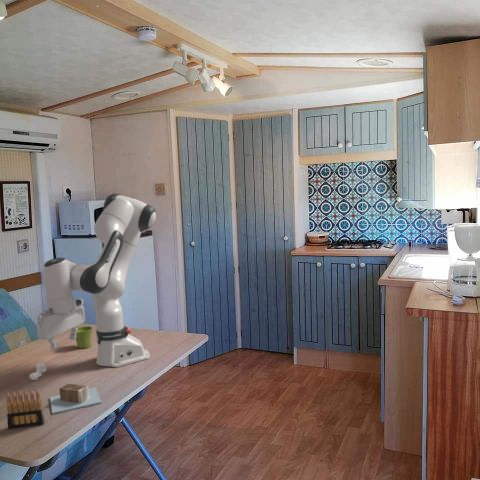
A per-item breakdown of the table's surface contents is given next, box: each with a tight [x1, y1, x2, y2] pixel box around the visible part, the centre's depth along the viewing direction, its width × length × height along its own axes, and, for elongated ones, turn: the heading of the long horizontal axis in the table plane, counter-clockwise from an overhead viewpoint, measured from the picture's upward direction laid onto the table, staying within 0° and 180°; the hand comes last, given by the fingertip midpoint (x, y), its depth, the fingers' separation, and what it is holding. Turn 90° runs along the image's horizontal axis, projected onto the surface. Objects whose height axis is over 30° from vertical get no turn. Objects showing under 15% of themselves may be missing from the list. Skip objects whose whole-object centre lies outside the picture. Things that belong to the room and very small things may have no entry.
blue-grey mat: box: [49, 386, 102, 415], centre depth 174 cm, size 16×14×1 cm
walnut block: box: [58, 383, 90, 403], centre depth 174 cm, size 4×4×9 cm
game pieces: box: [29, 362, 47, 382], centre depth 200 cm, size 12×3×3 cm, turn 5°
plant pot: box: [75, 325, 94, 349], centre depth 233 cm, size 9×9×9 cm
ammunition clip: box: [5, 388, 45, 430], centre depth 157 cm, size 11×2×12 cm, turn 100°
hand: (64, 343), depth 173 cm, fingers open, 8 cm apart
